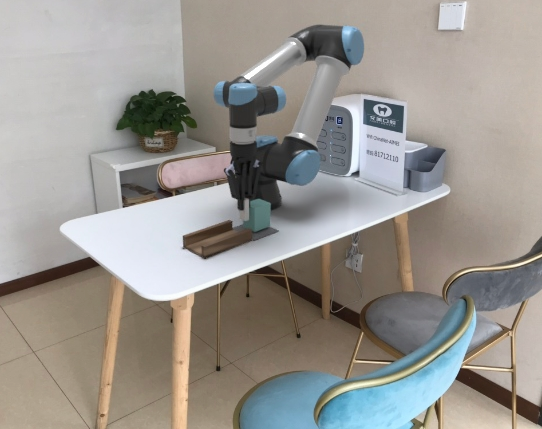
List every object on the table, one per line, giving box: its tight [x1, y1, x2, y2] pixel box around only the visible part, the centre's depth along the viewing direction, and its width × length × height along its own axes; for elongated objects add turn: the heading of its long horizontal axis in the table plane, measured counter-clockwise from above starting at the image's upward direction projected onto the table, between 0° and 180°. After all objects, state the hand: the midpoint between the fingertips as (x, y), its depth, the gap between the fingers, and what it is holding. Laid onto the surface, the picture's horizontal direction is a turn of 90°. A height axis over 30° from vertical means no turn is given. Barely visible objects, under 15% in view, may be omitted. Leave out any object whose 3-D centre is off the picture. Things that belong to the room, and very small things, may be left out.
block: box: [242, 199, 272, 232], centre depth 161 cm, size 5×6×8 cm
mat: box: [233, 223, 280, 242], centre depth 162 cm, size 11×10×1 cm
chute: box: [182, 219, 253, 259], centre depth 153 cm, size 10×17×4 cm, turn 134°
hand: (244, 219), depth 158 cm, fingers closed
